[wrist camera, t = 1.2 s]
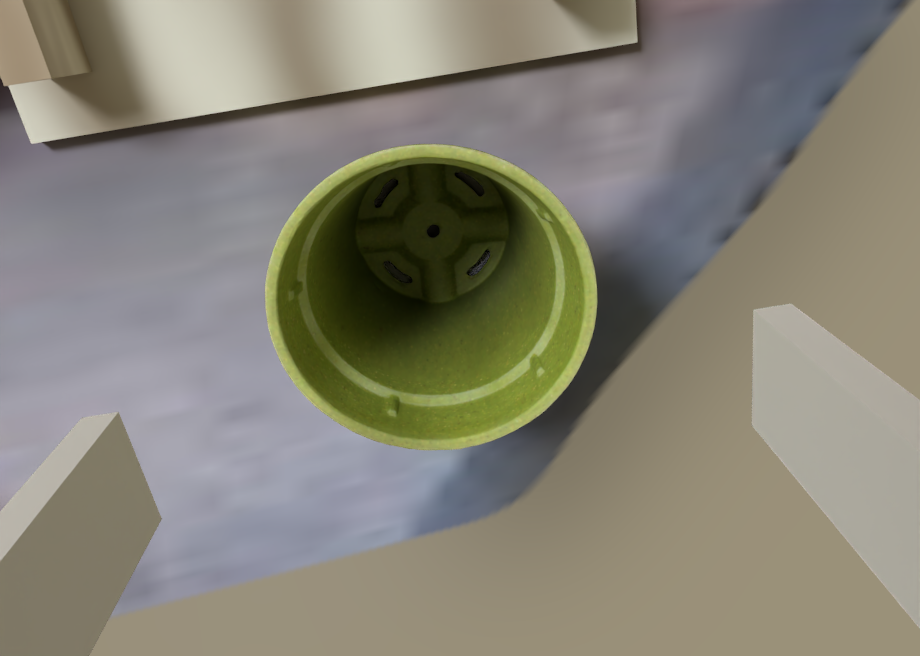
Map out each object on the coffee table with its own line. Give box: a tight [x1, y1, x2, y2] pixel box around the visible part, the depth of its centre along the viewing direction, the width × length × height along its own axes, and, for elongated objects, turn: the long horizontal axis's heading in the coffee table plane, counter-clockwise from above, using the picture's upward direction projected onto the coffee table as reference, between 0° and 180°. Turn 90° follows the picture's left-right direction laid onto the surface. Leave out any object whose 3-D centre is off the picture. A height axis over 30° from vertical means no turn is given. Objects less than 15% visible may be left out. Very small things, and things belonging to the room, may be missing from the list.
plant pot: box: [265, 144, 597, 450], centre depth 24 cm, size 9×9×9 cm
